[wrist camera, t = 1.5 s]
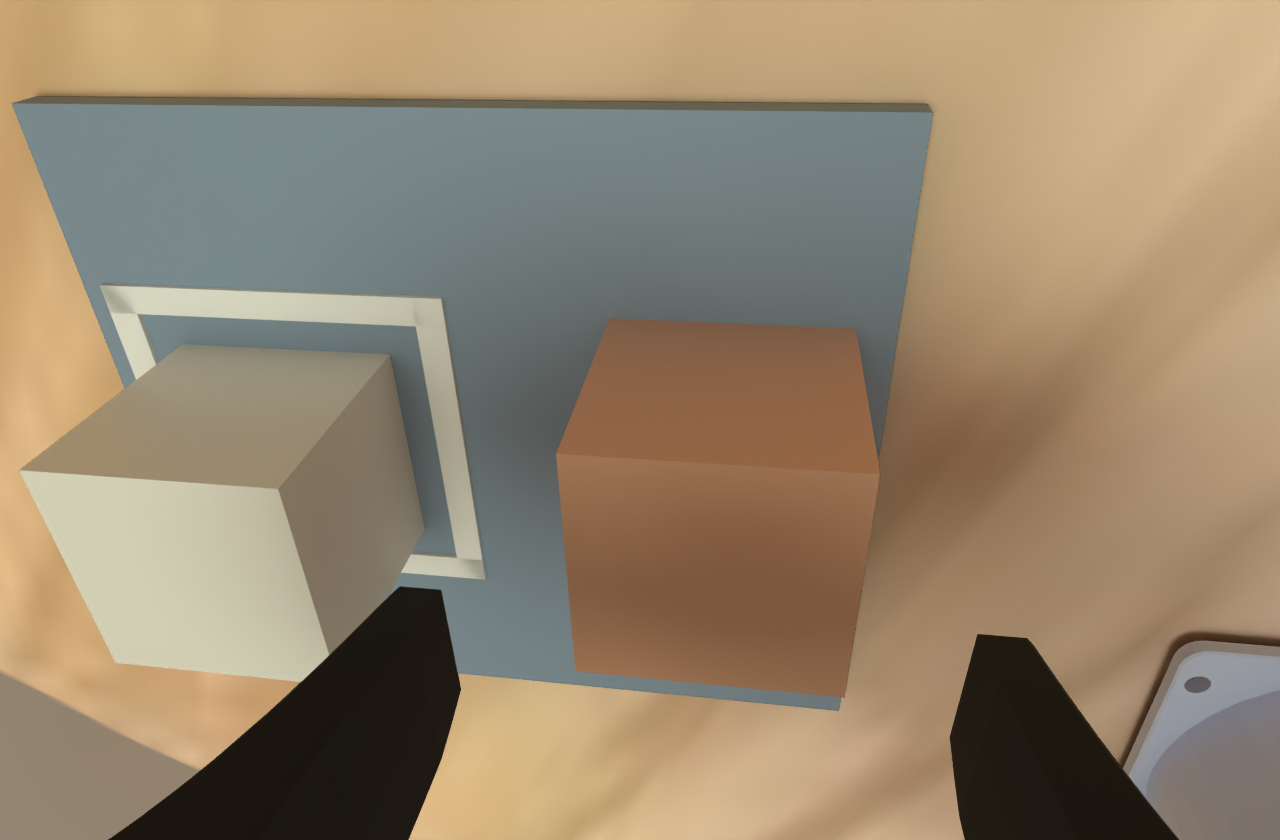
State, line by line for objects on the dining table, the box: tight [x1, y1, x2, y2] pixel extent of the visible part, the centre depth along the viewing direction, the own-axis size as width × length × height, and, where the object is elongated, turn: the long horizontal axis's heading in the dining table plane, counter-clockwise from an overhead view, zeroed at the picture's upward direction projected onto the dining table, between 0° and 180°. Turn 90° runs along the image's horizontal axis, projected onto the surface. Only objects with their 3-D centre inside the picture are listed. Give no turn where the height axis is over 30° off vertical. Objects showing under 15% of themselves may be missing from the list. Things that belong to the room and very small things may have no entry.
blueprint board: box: [12, 96, 933, 711], centre depth 18 cm, size 14×16×1 cm
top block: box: [556, 318, 880, 698], centre depth 15 cm, size 4×4×4 cm
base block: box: [19, 344, 425, 682], centre depth 17 cm, size 4×4×4 cm
